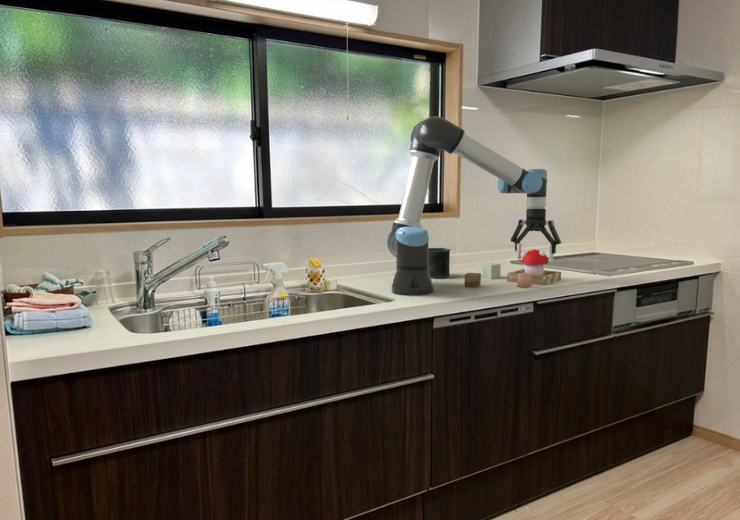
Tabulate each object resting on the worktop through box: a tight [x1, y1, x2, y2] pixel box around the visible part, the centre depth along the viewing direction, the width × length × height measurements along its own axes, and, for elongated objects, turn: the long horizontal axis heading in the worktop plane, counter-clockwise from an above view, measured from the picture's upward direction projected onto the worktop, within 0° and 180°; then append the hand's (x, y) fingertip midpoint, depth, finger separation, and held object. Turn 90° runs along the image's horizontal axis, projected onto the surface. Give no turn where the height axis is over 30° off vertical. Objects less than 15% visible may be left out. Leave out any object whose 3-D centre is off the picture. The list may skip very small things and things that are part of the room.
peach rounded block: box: [516, 273, 532, 289], centre depth 207 cm, size 5×5×5 cm
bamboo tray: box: [506, 268, 562, 286], centre depth 221 cm, size 16×16×3 cm
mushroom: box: [520, 249, 550, 276], centre depth 220 cm, size 11×11×12 cm
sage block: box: [482, 262, 501, 280], centre depth 229 cm, size 5×5×6 cm
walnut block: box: [464, 272, 482, 289], centre depth 209 cm, size 5×5×5 cm
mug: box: [428, 247, 451, 279], centre depth 233 cm, size 11×15×12 cm
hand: (534, 260), depth 220 cm, fingers open, 13 cm apart
